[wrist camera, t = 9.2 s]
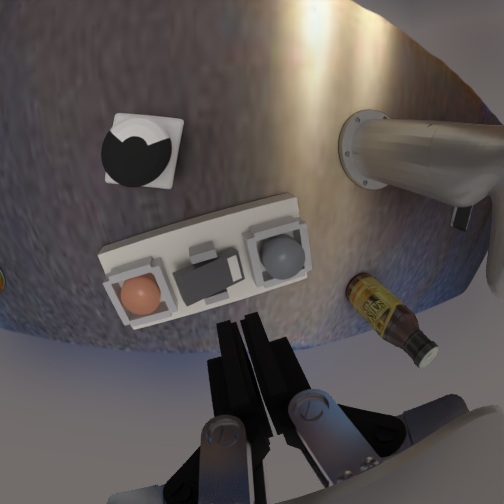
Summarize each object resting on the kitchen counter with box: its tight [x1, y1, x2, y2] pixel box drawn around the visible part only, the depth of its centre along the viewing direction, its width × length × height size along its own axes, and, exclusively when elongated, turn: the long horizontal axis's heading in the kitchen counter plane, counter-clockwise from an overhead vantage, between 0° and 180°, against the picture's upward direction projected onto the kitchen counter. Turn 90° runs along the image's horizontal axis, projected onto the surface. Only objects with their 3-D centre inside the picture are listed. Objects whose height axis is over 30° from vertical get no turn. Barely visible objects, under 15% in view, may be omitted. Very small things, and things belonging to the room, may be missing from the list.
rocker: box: [172, 247, 245, 307], centre depth 32 cm, size 8×4×2 cm, turn 102°
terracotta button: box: [121, 273, 161, 315], centre depth 32 cm, size 5×5×2 cm
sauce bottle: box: [347, 274, 439, 368], centre depth 37 cm, size 7×6×20 cm
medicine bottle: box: [101, 113, 184, 189], centre depth 24 cm, size 7×7×12 cm
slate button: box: [260, 234, 305, 280], centre depth 33 cm, size 5×5×2 cm
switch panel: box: [98, 193, 312, 330], centre depth 34 cm, size 26×12×6 cm, turn 102°
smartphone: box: [451, 205, 473, 231], centre depth 47 cm, size 8×1×15 cm
